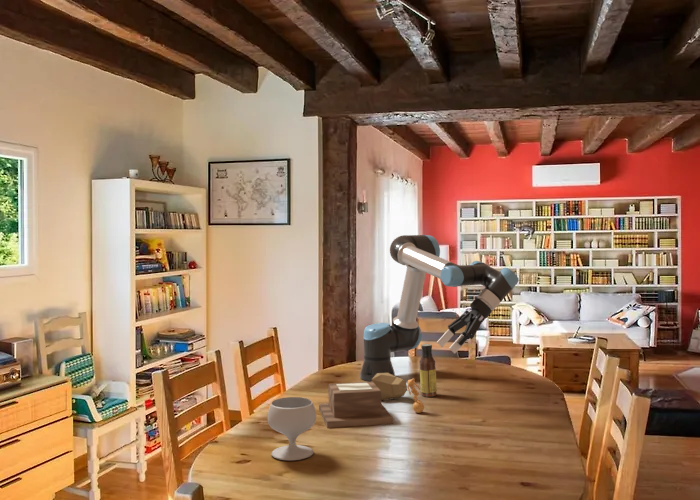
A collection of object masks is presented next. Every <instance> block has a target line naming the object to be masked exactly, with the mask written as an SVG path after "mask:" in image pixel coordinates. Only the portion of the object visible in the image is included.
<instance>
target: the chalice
mask: <svg viewBox="0 0 700 500" xmlns="http://www.w3.org/2000/svg"><path fill="white" fill-rule="evenodd" d="M266 417H267V423H268V425H269V427H270V428H271V429H272V430H273V431H275V432H278V433H279V434H281V435H284V436H285V437H286V438H287V440H288V445H283V446H280V447H277V448H275V449H273V450H272V451H271V453H270V454H271V455H270V456H271V457H272V458H275V459H277V460H280V461H301V460H304V459H307V458H310V457H312V455H314V453H315V451H314V450H313V449H312V448H311V447H310V446H306V445H300V444H297V443H296V441H297V439H298V437H299V436H300V435H301V434H303V433H305V432H306V431H308V430H310V429H311V428H312V427H314V425H315V424H316V421H317V413H316V408H315V405H314V402H313V401H312V400H311V399H310V398H307V397H300V396H287V397H281V398H276V399H274V400H273V401H272V402H271V403H270V405H269V407H268V412H267V416H266Z"/></svg>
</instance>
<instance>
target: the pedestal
mask: <svg viewBox="0 0 700 500" xmlns="http://www.w3.org/2000/svg"><path fill="white" fill-rule="evenodd" d="M327 387H328V402H325V403H324V402H321V403H318V410H319V412H320V414H321V416H322V417H321V418H322V419H323V421H324V424H325V426H326V428H327V429H328V428H343V427H345V428H348V427H359V426H360V427H361V426H375V425H377V426H378V425H390V424H392V425H393V424H394V421H393V420H394V418H393V416H392V415H391V413H390V412H389V411H388V410H387V408H386V407H385V406H384V405H383V404H382V399H381V390H380V389H379V388H378V387H377V386H376V385H375V384H374V383H373V381H355V382H340V383H339V382H336V383H328V386H327Z"/></svg>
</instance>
